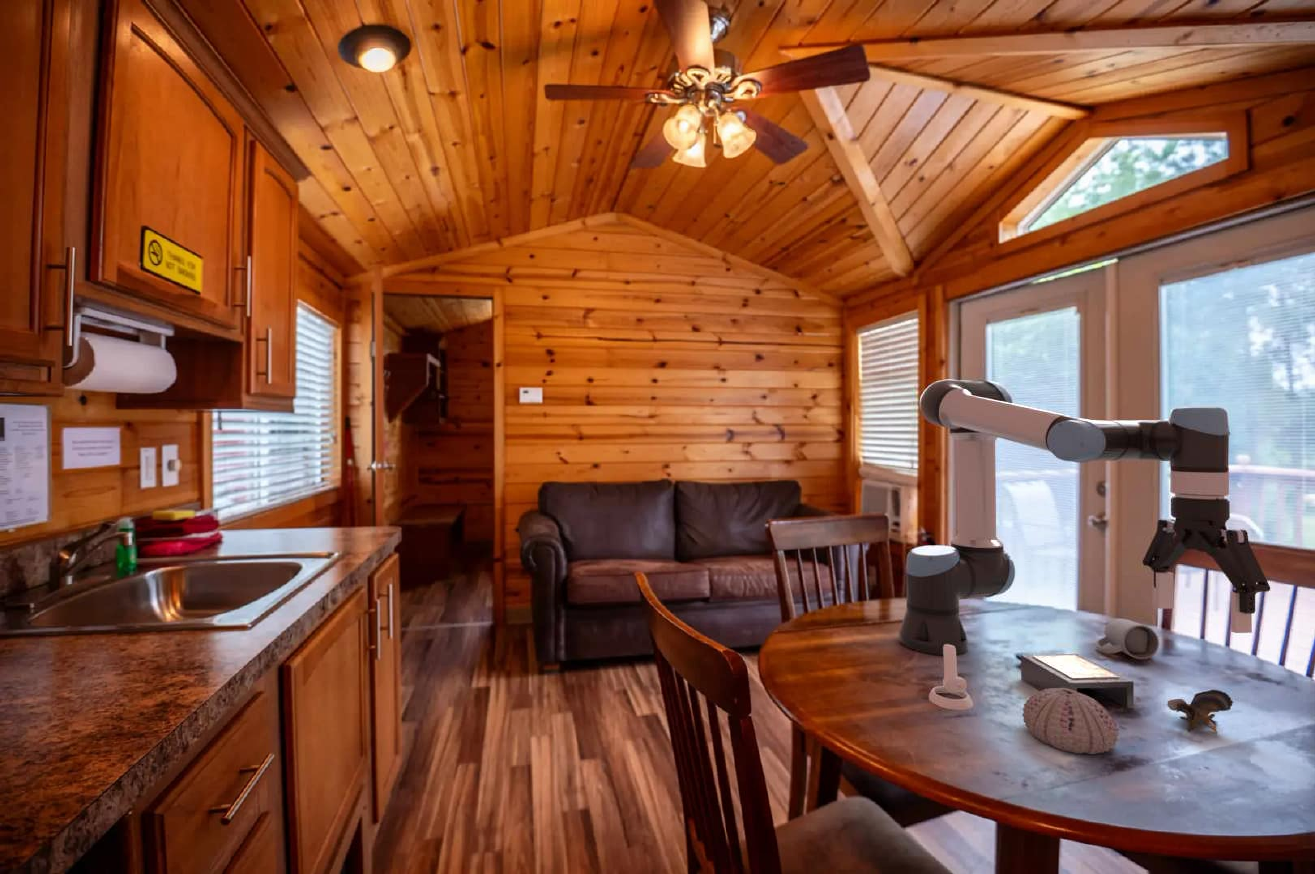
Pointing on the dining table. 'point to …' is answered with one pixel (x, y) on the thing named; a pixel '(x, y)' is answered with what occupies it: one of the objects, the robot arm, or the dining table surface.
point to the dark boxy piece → (1076, 676)
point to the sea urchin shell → (1070, 721)
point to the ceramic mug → (1129, 639)
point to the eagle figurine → (1202, 708)
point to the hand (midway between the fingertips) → (1200, 619)
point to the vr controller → (951, 684)
